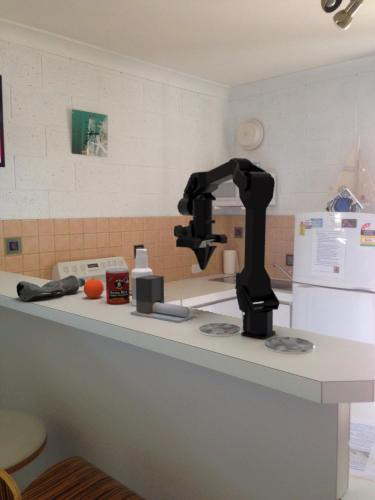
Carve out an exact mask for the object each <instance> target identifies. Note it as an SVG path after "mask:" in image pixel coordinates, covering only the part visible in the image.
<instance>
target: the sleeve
mask: <svg viewBox="0 0 375 500" xmlns="http://www.w3.org/2000/svg"><path fill="white" fill-rule="evenodd" d="M164 278H165V277H164V275H155V274H153V275H148V276H143V277H138V278H136V306H135V307H136V308H135V311H138V312H144V313H152V302H159V303H165V281H164V280H165V279H164Z"/></svg>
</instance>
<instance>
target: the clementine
mask: <svg viewBox="0 0 375 500" xmlns="http://www.w3.org/2000/svg"><path fill="white" fill-rule="evenodd" d="M103 282H104V283H106V280H105V279H104V280H103V279H101V278H97V277H96V278H95V277H92V278H89V279H87V280H85V284H84V286H83V293H84V295H86V297H88V298H90V299H97V298H99V297H101V296H102V294H103V293H104V289H105V288H104V287H105V286H104V284H103Z"/></svg>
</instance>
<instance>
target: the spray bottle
mask: <svg viewBox="0 0 375 500" xmlns="http://www.w3.org/2000/svg"><path fill="white" fill-rule="evenodd" d="M135 251H136V252H135V268H133V269H132V270H131V272H130V273H131V279H130V280H131V305H132V306H133V307H136V278H138V277H143V276H148V275H154V273H153V270H152V269H151V268H150V267H149V257H148V249H147V248H136V249H135Z"/></svg>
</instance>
